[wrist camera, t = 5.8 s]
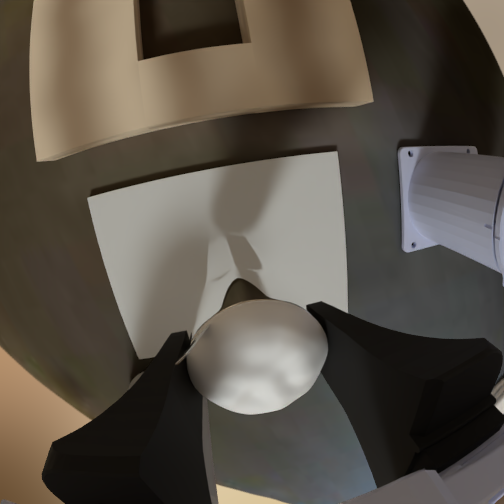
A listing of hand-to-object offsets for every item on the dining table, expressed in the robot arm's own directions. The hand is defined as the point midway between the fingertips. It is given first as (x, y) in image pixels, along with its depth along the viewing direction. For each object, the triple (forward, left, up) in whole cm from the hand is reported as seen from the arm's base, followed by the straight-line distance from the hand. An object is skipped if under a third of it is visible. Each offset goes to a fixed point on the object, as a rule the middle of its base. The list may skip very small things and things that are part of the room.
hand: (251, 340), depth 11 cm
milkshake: (0, -1, -6) cm, 6 cm away
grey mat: (0, 0, -9) cm, 9 cm away
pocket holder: (0, -16, -9) cm, 18 cm away
